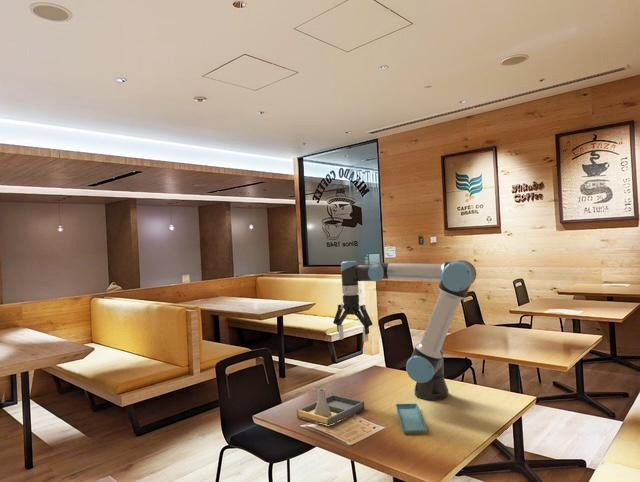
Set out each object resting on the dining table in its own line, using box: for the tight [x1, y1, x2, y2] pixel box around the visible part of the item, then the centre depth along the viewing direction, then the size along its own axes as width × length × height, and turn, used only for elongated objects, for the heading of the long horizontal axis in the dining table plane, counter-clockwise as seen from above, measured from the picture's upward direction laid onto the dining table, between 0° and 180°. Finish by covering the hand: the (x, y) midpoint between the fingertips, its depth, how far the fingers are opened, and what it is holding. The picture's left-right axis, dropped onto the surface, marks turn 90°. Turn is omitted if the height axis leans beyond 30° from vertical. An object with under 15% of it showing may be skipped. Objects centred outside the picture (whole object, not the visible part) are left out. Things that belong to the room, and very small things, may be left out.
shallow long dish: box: [395, 403, 428, 435], centre depth 179 cm, size 26×9×2 cm, turn 176°
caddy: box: [296, 394, 365, 425], centre depth 190 cm, size 17×23×3 cm
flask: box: [314, 388, 331, 417], centre depth 186 cm, size 7×7×10 cm
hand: (353, 340), depth 210 cm, fingers open, 13 cm apart
